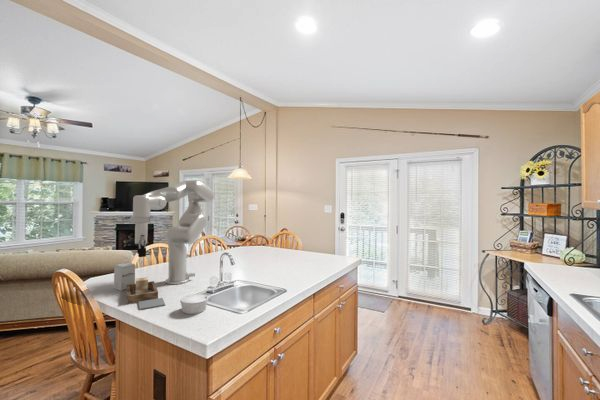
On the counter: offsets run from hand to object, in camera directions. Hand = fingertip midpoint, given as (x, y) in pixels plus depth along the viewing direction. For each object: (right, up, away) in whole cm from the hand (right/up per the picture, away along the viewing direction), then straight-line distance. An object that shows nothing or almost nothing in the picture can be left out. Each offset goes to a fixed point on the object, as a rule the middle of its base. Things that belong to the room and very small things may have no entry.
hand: (141, 255), depth 142 cm
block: (0, -20, 0) cm, 20 cm away
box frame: (0, -20, 0) cm, 20 cm away
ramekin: (+33, -21, -18) cm, 43 cm away
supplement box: (-15, -20, +12) cm, 28 cm away
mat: (+11, -20, -12) cm, 26 cm away
